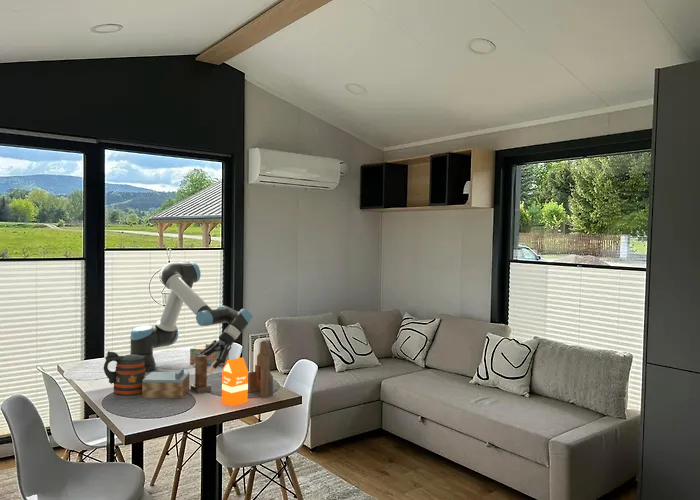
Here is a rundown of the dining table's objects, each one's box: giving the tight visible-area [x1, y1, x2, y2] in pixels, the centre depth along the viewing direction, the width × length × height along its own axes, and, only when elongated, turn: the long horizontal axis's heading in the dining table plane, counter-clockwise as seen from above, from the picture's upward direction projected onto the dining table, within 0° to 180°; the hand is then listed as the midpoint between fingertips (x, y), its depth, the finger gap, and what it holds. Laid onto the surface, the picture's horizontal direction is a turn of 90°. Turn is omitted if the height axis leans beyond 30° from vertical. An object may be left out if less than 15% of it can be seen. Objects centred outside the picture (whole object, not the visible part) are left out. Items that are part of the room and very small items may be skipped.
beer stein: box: [103, 350, 146, 396], centre depth 255 cm, size 19×15×20 cm
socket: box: [189, 383, 212, 394], centre depth 260 cm, size 7×7×2 cm
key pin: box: [194, 355, 208, 388], centre depth 260 cm, size 4×4×17 cm
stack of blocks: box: [189, 341, 230, 367], centre depth 314 cm, size 21×6×12 cm, turn 87°
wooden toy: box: [248, 340, 274, 399], centre depth 258 cm, size 15×7×25 cm, turn 42°
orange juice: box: [221, 357, 249, 407], centre depth 243 cm, size 8×9×20 cm
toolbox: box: [141, 375, 190, 399], centre depth 254 cm, size 18×14×7 cm
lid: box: [143, 367, 190, 383], centre depth 254 cm, size 18×14×4 cm
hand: (201, 370), depth 259 cm, fingers open, 13 cm apart
